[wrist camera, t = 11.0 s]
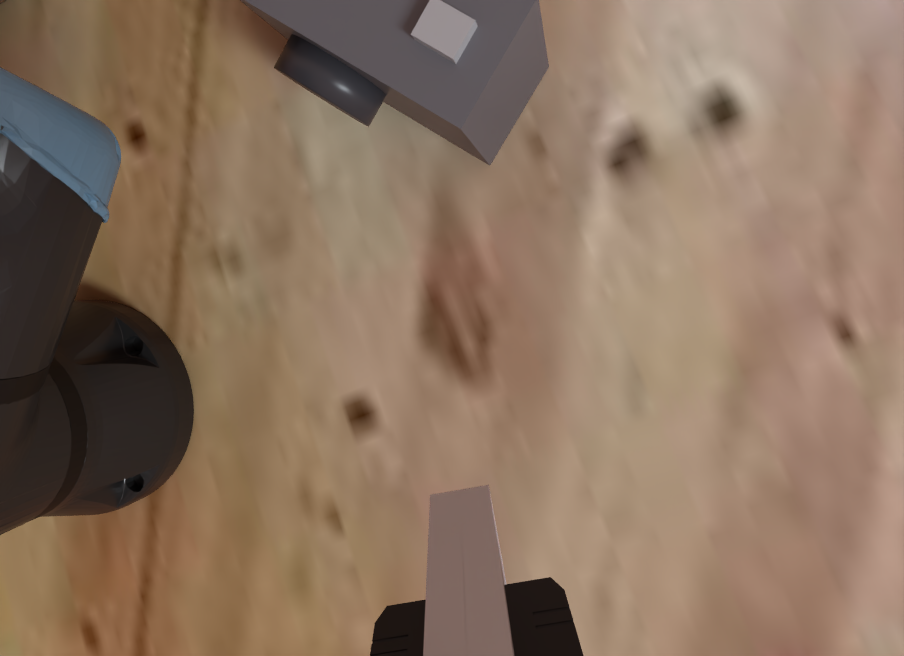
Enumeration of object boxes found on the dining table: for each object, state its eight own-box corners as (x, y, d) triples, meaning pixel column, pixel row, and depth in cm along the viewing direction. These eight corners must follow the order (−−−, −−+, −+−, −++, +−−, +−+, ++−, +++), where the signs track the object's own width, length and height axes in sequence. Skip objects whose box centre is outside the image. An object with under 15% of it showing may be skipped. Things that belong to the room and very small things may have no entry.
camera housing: (550, 64, 43) (538, -14, 32) (473, 192, 45) (436, 162, 33) (364, -42, 45) (289, -153, 33) (296, 85, 46) (202, 21, 35)
